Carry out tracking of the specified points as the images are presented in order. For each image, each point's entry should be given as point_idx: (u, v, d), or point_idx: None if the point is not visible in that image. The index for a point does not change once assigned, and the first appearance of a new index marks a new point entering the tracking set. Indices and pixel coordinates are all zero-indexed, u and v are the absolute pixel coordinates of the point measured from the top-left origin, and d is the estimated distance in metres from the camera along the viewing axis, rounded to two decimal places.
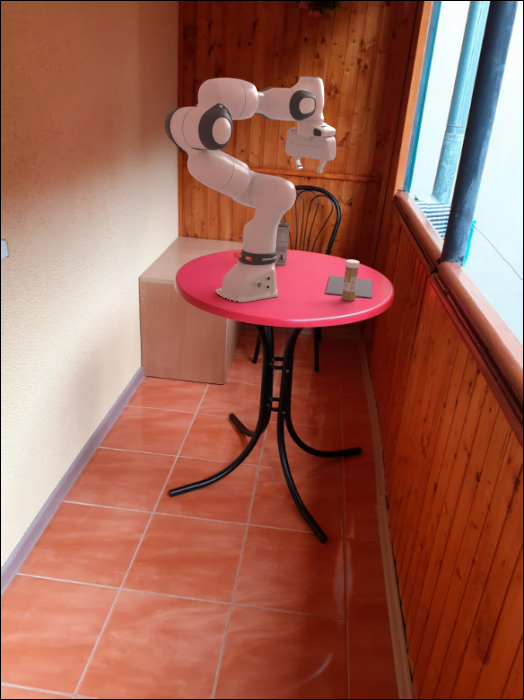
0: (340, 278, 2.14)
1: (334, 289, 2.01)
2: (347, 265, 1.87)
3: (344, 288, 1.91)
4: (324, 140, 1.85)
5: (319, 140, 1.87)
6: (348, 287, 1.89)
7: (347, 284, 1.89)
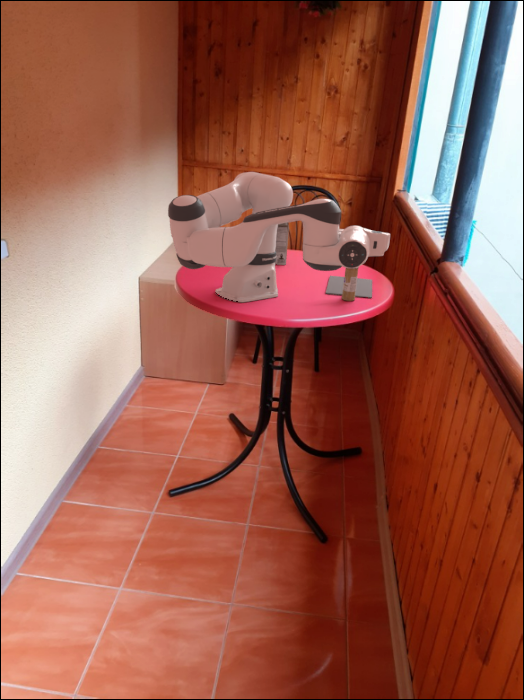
0: (340, 278, 2.14)
1: (334, 289, 2.01)
2: None
3: (344, 288, 1.91)
4: None
5: None
6: (348, 287, 1.89)
7: (347, 284, 1.89)
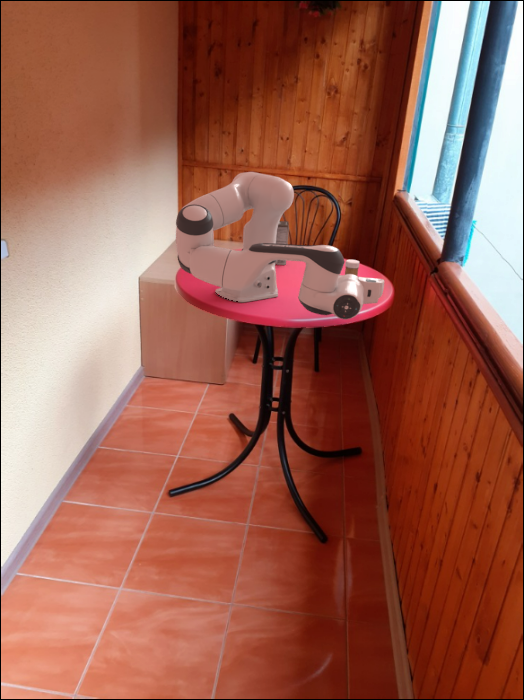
0: None
1: None
2: (347, 265, 1.87)
3: None
4: None
5: None
6: None
7: None
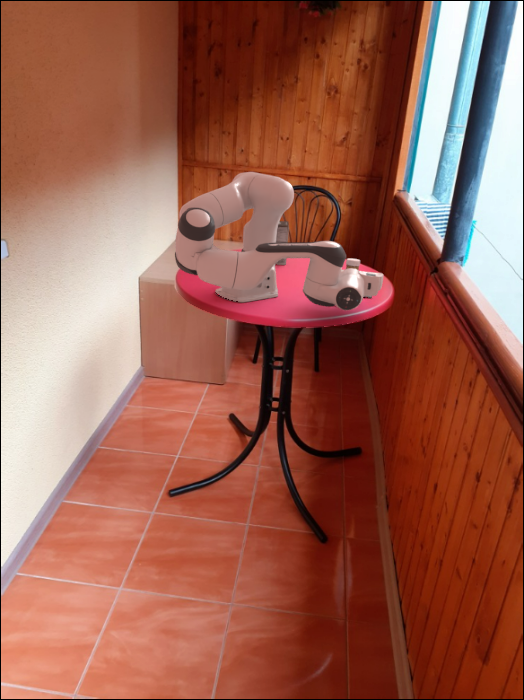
0: None
1: None
2: (348, 263, 1.88)
3: None
4: None
5: None
6: None
7: None
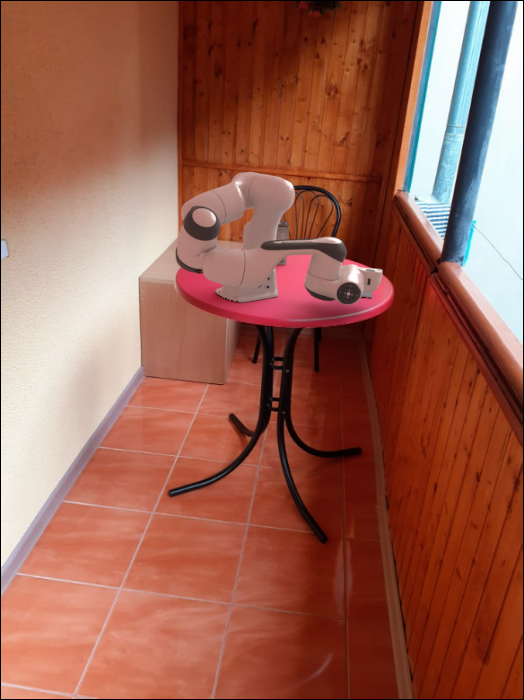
0: None
1: None
2: None
3: None
4: None
5: None
6: None
7: None
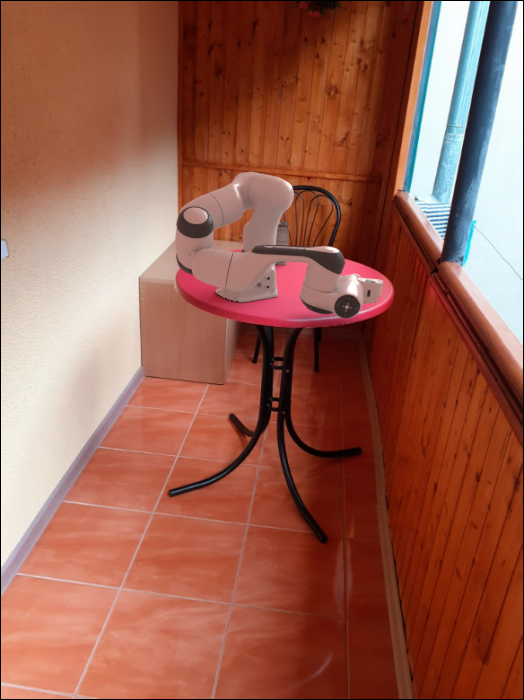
0: None
1: None
2: (352, 274, 2.04)
3: None
4: None
5: None
6: None
7: None
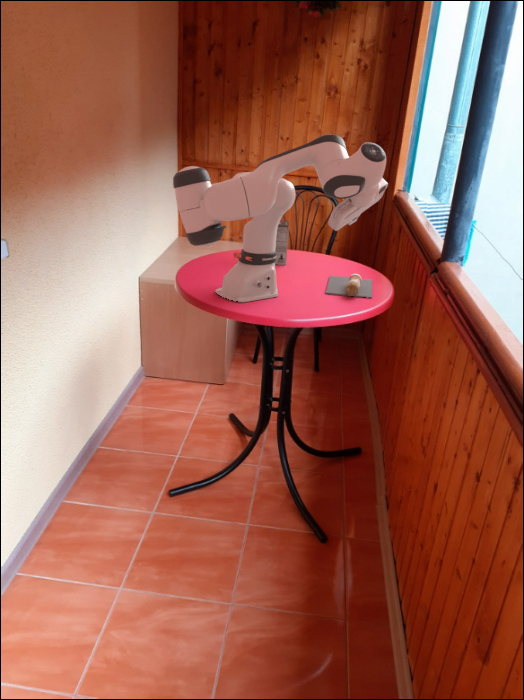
0: (340, 278, 2.14)
1: (334, 289, 2.01)
2: (353, 274, 2.04)
3: (351, 281, 1.97)
4: None
5: None
6: (355, 280, 1.97)
7: (354, 279, 1.98)
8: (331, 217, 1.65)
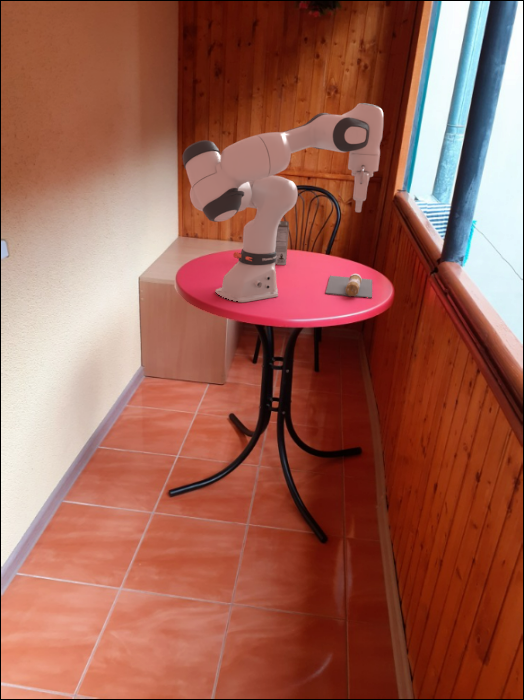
0: (340, 278, 2.14)
1: (334, 289, 2.01)
2: (353, 274, 2.04)
3: (351, 281, 1.97)
4: None
5: None
6: (355, 280, 1.97)
7: (354, 279, 1.98)
8: (357, 185, 1.60)
